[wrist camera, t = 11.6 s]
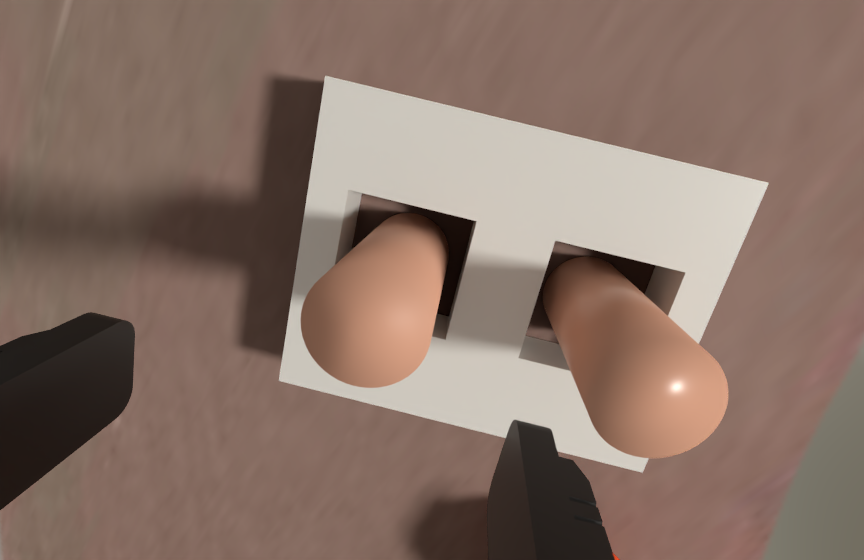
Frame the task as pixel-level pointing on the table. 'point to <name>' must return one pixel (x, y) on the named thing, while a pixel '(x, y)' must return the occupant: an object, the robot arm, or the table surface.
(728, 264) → the pin board
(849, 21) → the table surface
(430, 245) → the pin
